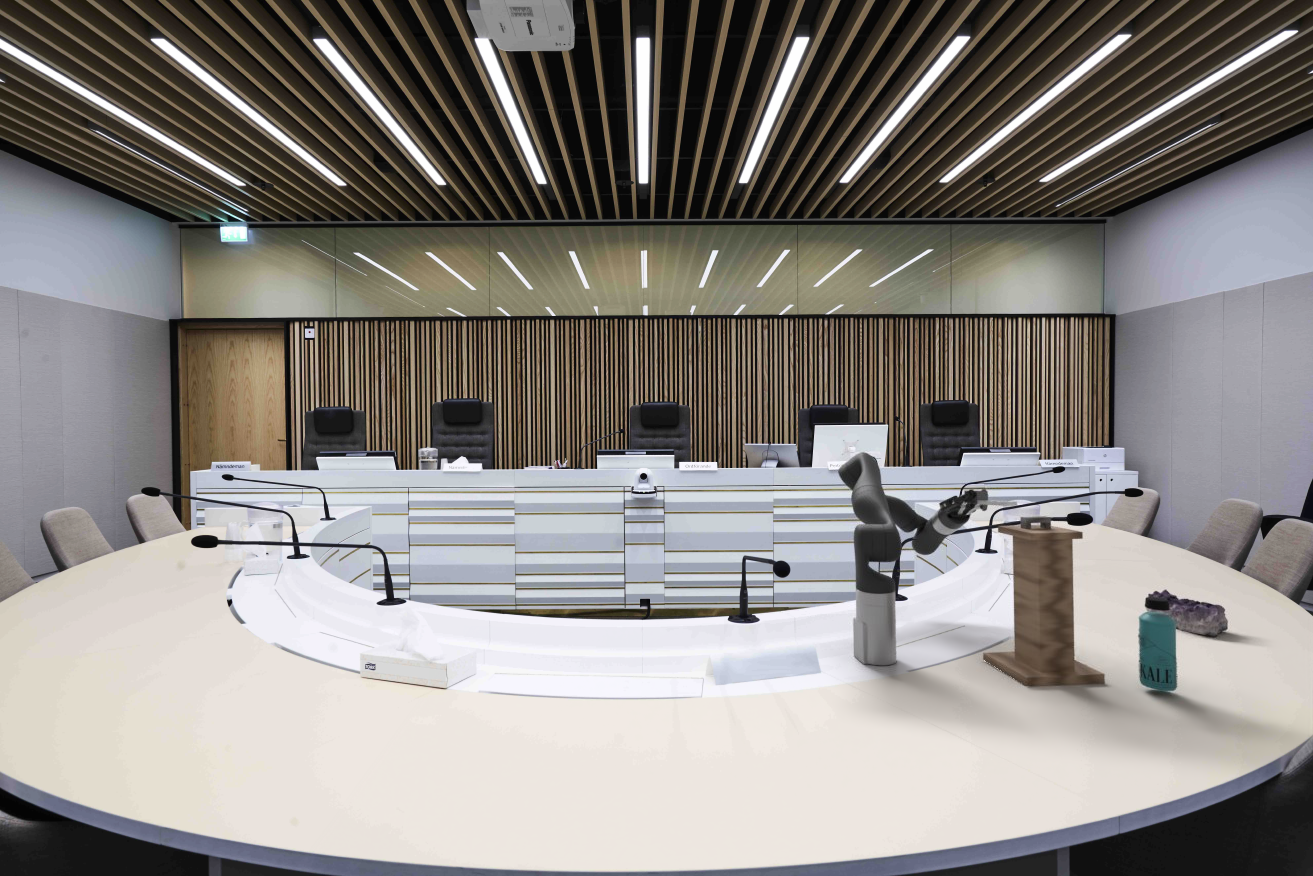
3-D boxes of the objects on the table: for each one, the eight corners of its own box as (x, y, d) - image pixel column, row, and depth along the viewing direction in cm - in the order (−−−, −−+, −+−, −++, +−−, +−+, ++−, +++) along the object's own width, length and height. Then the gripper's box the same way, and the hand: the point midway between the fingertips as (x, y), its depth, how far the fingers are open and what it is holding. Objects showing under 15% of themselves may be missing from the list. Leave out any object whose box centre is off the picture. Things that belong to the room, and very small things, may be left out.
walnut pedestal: (1026, 686, 138) (1023, 523, 138) (983, 660, 153) (980, 514, 154) (1104, 683, 139) (1102, 521, 139) (1053, 658, 155) (1051, 512, 155)
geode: (1130, 619, 186) (1132, 585, 187) (1159, 621, 189) (1160, 587, 190) (1208, 637, 166) (1209, 599, 167) (1238, 639, 170) (1239, 601, 170)
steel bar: (1005, 505, 156) (1004, 491, 156) (964, 503, 174) (964, 490, 174) (1017, 505, 156) (1016, 491, 156) (975, 503, 174) (974, 490, 174)
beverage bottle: (1163, 686, 136) (1162, 594, 136) (1186, 699, 130) (1184, 602, 130) (1131, 686, 137) (1130, 593, 137) (1152, 698, 130) (1150, 601, 130)
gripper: (923, 506, 186) (950, 480, 171) (969, 505, 187) (1000, 479, 172) (930, 530, 182) (958, 505, 167) (977, 529, 183) (1009, 504, 168)
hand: (979, 492), depth 170 cm, fingers closed on steel bar, 3 cm apart
